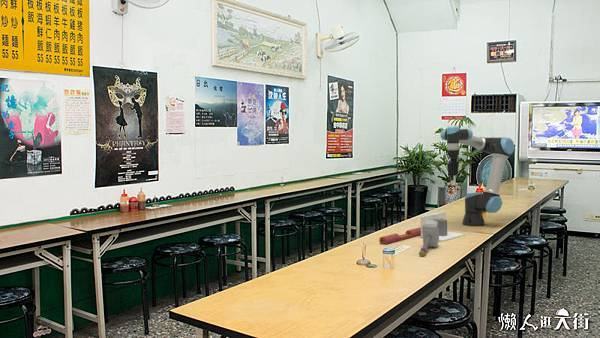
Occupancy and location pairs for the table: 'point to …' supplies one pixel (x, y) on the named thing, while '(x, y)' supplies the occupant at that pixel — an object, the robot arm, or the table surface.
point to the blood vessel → (400, 236)
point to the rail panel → (437, 216)
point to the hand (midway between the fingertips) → (453, 185)
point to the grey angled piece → (429, 235)
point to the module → (442, 226)
